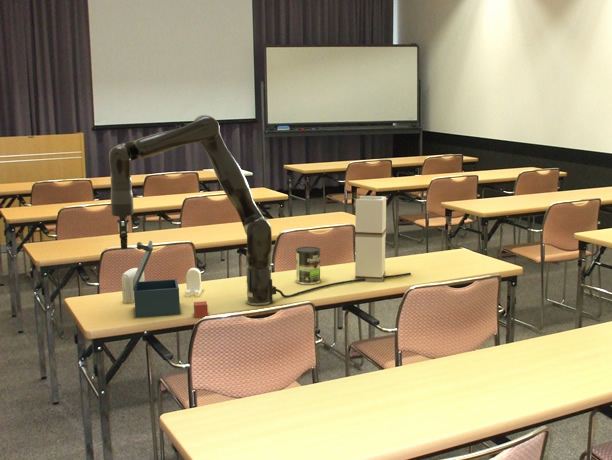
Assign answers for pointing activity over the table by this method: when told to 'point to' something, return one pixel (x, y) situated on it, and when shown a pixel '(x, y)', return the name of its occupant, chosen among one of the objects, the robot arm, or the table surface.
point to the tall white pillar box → (370, 238)
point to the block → (200, 309)
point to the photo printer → (129, 285)
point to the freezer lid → (142, 262)
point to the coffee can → (308, 265)
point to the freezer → (157, 298)
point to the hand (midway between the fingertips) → (124, 246)
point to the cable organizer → (193, 282)
